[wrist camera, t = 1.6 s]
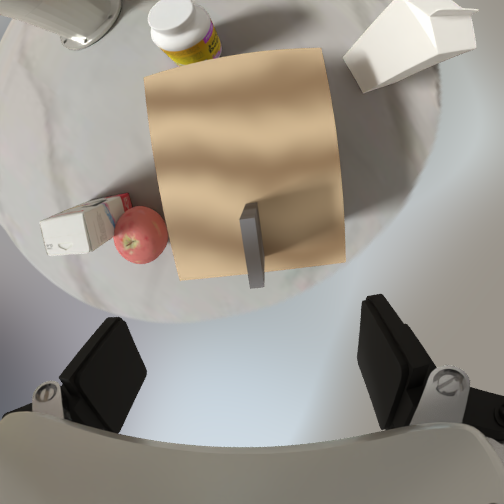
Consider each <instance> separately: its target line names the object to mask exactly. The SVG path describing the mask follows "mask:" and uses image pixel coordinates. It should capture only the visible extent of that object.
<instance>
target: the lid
mask: <svg viewBox="0 0 504 504" xmlns="http://www.w3.org/2000/svg"><path fill="white" fill-rule="evenodd" d="M144 85H145V95H146V105H147V113H148V121H149V129H150V136H151V143H152V150H153V156H154V162H155V168H156V174H157V180H158V185H159V190H160V196H161V201H162V206H163V211H164V216H165V220H166V225H167V230H168V234H169V238H170V243H171V247H172V251H173V255H174V260H175V264H176V268H177V272H178V275H179V279H180V281H181V280H192V279H202V278H212V277H222V276H232V275H241V274H248V278H249V284H250V289H251V288H261V287H264V272H269V271H278V270H286V269H295V268H303V267H312V266H320V265H328V264H336V263H344V262H346V255H345V224H344V206H343V192H342V179H341V169H340V159H339V150H338V142H337V134H336V127H335V120H334V113H333V107H332V101H331V95H330V89H329V84H328V78H327V73H326V68H325V64H324V59H323V54H322V50H321V48H298V49H282V50H270V51H260V52H252V53H245V54H238V55H232V56H226V57H220V58H215V59H210V60H205V61H201V62H197V63H192V64H188V65H184V66H180V67H177V68H173V69H169V70H166V71H163V72H159V73H156V74H153V75H150V76H147V77H144Z"/></svg>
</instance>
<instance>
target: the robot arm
mask: <svg viewBox="0 0 504 504" xmlns="http://www.w3.org/2000/svg"><path fill="white" fill-rule="evenodd" d="M120 10H121V0H0V15H2V16H6V17H9V18H13V19H16V20H19V21H22V22H25V23H28V24H31V25H34V26H37V27H40V28H42V29H45V30H47V31H50V32H53V33H55V34H58V35H60V39H61V43H62V45H63V46H64V47H66V48H68V49H70V50H80V49H83V48H86V47H88V46H90V45H91V44H93V43H94V42H96V41H97V40H98V39H100V38H101V37H102V36H103V35H104V34H105V33H106V32H107V31H108V30H109V29H110V28H111V26H112V25H113V24H114V22H115V21H116V19H117V17H118V15H119V13H120ZM357 360H358V365H359V367H360V370H361V373H362V376H363V378H364V381H365V384H366V387H367V390H368V393H369V395H370V398H371V401H372V404H373V407H374V410H375V413H376V416H377V419H378V423H379V426H380V428H381V430H383V429H386V430H385V431H381V432H376V433H371V434H366V435H361V436H356V437H351V438H345V439H339V440H332V441H325V442H318V443H309V444H300V445H291V446H275V447H210V446H209V447H208V446H196V445H185V444H175V443H167V442H159V441H154V440H147V439H141V438H136V437H131V436H126V435H121V434H118V433H119V432H120V430H121V428H122V426H123V424H124V422H125V419H126V417H127V415H128V413H129V411H130V409H131V407H132V405H133V402H134V400H135V398H136V396H137V394H138V392H139V390H140V388H141V386H142V384H143V382H144V380H145V377H146V375H147V370H146V367H145V365H144V363H143V361H142V359H141V356H140V354H139V352H138V350H137V348H136V345H135V343H134V341H133V338H132V336H131V334H130V331H129V329H128V326H127V324H126V322H125V321H123V320H122V318H120V317H108V318H107V319H106V320H105V321H104V322H103V323H102V325H101V326H100V327H99V328H98V329H97V330H96V331H95V333H94V334H93V335H92V336H91V337H90V339H89V340H88V341H87V342H86V344H85V345H84V346H83V347H82V348H81V350H80V351H79V352H78V353H77V355H76V356H75V357H74V358H73V360H72V361H71V362H70V363H69V365H68V366H67V367H66V369H65V370H64V371H63V372H62V374H61V375H60V376H59V379H60V380H61V382H62V383H63V385H62V386H60V385H59V384H58V383H57V382H55V381H48V382H45V383H43V384H41V385H40V386H38V387H37V389H36V390H35V391H34V393H33V400H32V403H30V404H28V405H25V406H23V407H20V408H18V409H15V410H13V411H10V412H7V413H6V414H4V415H3V417H2V420H1V421H0V504H504V396H501V395H497V394H494V393H489V392H486V391H482V390H478V389H475V388H472V387H470V380H469V377H468V375H467V374H466V373H465V372H464V371H463V370H461V369H460V368H458V367H455V366H448V365H446V366H441V367H438V368H437V367H436V366H435V364H434V363H433V361H432V360H431V358H430V357H429V355H428V354H427V352H426V351H425V349H424V347H423V346H422V345H421V343H420V342H419V340H418V339H417V337H416V336H415V334H414V333H413V331H412V330H411V329H410V327H409V326H408V325H407V324H403V322H402V321H401V319H400V318H399V317H398V315H397V314H396V312H395V311H394V309H393V308H392V307H391V305H390V304H389V302H388V301H387V300H386V298H385V297H384V296H383V295H382V294H377V295H371V296H367V298H366V300H364V301H362V307H361V321H360V333H359V345H358V353H357Z"/></svg>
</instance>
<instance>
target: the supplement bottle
mask: <svg viewBox="0 0 504 504" xmlns="http://www.w3.org/2000/svg"><path fill="white" fill-rule="evenodd" d="M148 23H149V25H150V26H151V37H152V40H153V41H154V43H155V44H156V45H157V46H158V47H159V48H160V49H161V50H162V51H164V52H165V53H166V54H167V55H168V56H169V57H170V58H171V59H172V60H173V61H174V62H175V63H176V64H177V65H178V66H179V67H180V66H184V65H188V64H192V63H197V62H201V61H205V60H210V59H215V58H219V57H220V55H221V51H222V45H221V42H220V39H219V37H218V34H217V32H216V30H215V27H214V25H213V23H212V21H211V18H210V16H209V14H208V12H207V11H206V10H205V9H204V8H203V7H201V6H200V5H197V4H194V3H192V1H191V0H161V1H159V2H158V3H156V4H155V5H154V6H153V7H152V9H151V10H150V12H149V15H148Z"/></svg>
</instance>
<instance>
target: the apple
mask: <svg viewBox="0 0 504 504" xmlns="http://www.w3.org/2000/svg"><path fill="white" fill-rule="evenodd" d="M167 241H168V231H167V227H166V224H165V222H164V220H163V219H162V217H161V216H160V215H159V214H158V213H157V212H156V211H154V210H153V209H151V208H148V207H145V206H136V207H133V208H130V209H128V210H127V211H126V212H125V213H123V214H122V215H121V216H120V218H119V219H118V221H117V223H116V225H115V229H114V243H115V246H116V248H117V250H118V252H119V253H120V254H121V255H122V256H123V257H124V258H125V259H126V260H128V261H130V262H133V263H136V264H145V263H149V262H151V261H153V260H155V259H156V258H157V257H158V256H159V255H160V254H161V253H162V252H163V250H164V249H165V247H166V245H167Z"/></svg>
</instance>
